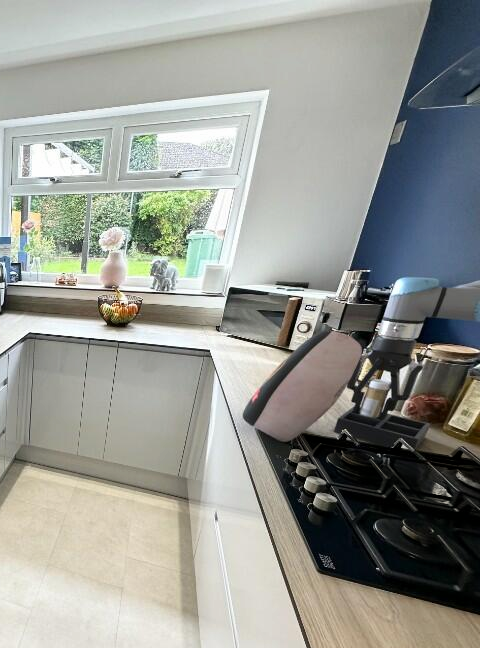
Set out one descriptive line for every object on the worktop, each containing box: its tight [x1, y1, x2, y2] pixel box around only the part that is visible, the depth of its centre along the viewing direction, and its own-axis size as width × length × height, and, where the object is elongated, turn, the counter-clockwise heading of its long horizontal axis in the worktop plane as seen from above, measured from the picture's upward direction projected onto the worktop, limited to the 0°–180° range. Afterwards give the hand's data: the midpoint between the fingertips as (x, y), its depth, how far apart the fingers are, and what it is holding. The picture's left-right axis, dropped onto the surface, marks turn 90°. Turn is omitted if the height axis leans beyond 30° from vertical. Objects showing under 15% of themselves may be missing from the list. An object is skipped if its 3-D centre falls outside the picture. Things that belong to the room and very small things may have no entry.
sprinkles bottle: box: [359, 378, 391, 419], centre depth 112 cm, size 5×5×13 cm
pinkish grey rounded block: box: [242, 330, 363, 443], centre depth 106 cm, size 22×20×30 cm
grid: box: [333, 406, 431, 450], centre depth 109 cm, size 15×15×5 cm
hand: (368, 416), depth 114 cm, fingers open, 5 cm apart
